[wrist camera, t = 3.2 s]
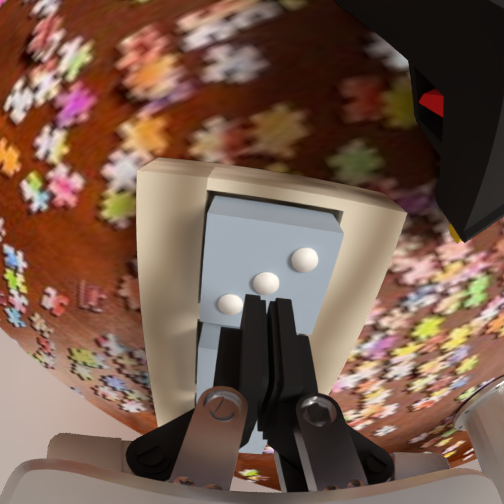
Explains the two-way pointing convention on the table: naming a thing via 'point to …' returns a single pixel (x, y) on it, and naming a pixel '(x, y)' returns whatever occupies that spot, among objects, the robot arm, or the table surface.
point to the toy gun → (453, 95)
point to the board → (192, 254)
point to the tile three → (266, 259)
